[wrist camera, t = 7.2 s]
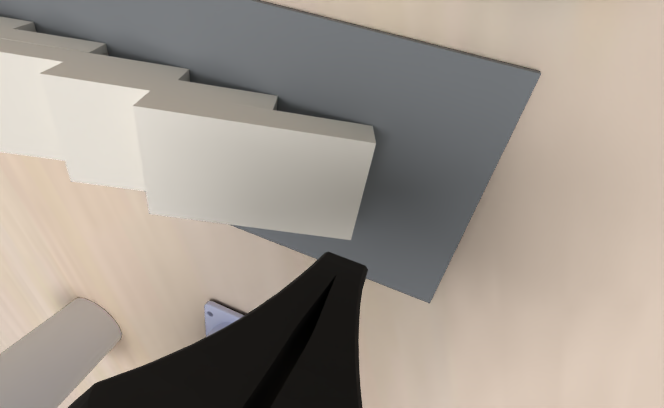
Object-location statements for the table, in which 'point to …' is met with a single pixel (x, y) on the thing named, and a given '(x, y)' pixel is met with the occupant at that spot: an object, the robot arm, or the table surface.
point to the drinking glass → (56, 356)
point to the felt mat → (337, 109)
